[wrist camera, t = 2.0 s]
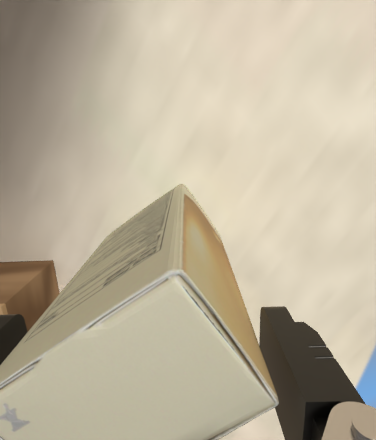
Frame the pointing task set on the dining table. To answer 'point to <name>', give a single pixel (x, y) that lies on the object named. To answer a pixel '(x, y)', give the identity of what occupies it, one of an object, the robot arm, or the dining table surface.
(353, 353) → the dining table surface
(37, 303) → the socket block
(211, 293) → the skincare box
